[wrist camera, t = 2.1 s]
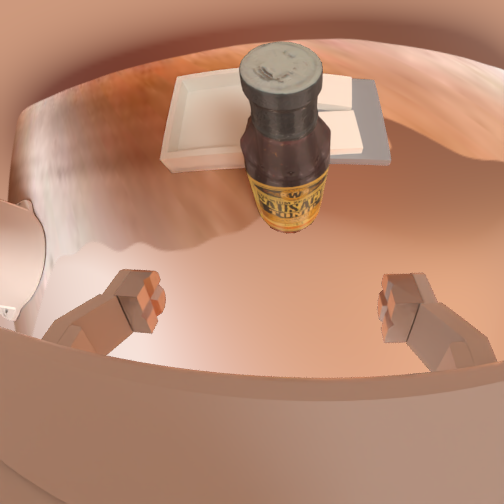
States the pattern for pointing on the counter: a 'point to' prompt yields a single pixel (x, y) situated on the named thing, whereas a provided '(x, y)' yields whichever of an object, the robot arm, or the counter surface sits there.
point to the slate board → (367, 127)
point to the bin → (206, 122)
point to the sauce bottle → (285, 134)
